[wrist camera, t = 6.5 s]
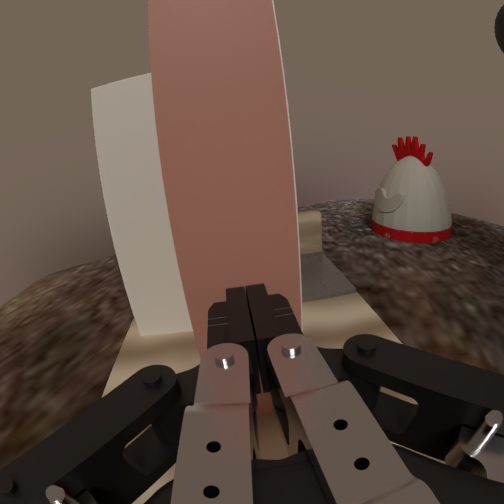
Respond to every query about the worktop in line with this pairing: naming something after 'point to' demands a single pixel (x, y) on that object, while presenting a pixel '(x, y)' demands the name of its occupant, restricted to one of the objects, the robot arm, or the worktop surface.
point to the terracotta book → (225, 152)
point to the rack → (314, 326)
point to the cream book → (138, 204)
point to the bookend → (322, 278)
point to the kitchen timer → (412, 198)
